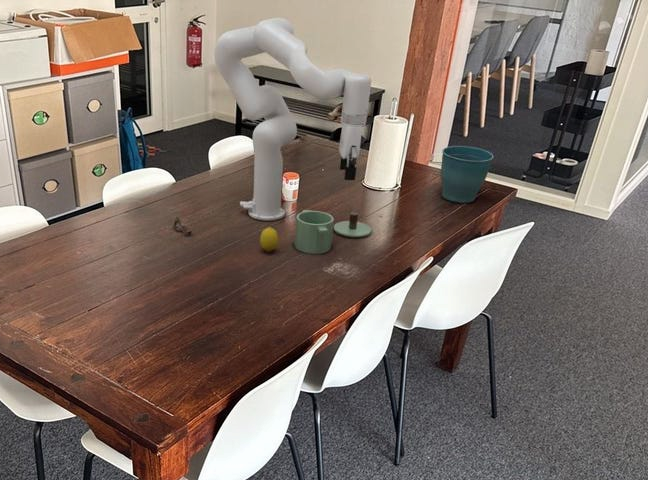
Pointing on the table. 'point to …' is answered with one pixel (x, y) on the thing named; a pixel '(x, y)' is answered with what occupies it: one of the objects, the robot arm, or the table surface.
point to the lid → (352, 227)
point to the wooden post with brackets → (188, 232)
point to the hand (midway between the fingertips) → (347, 174)
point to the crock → (313, 232)
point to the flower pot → (463, 172)
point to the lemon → (269, 239)
